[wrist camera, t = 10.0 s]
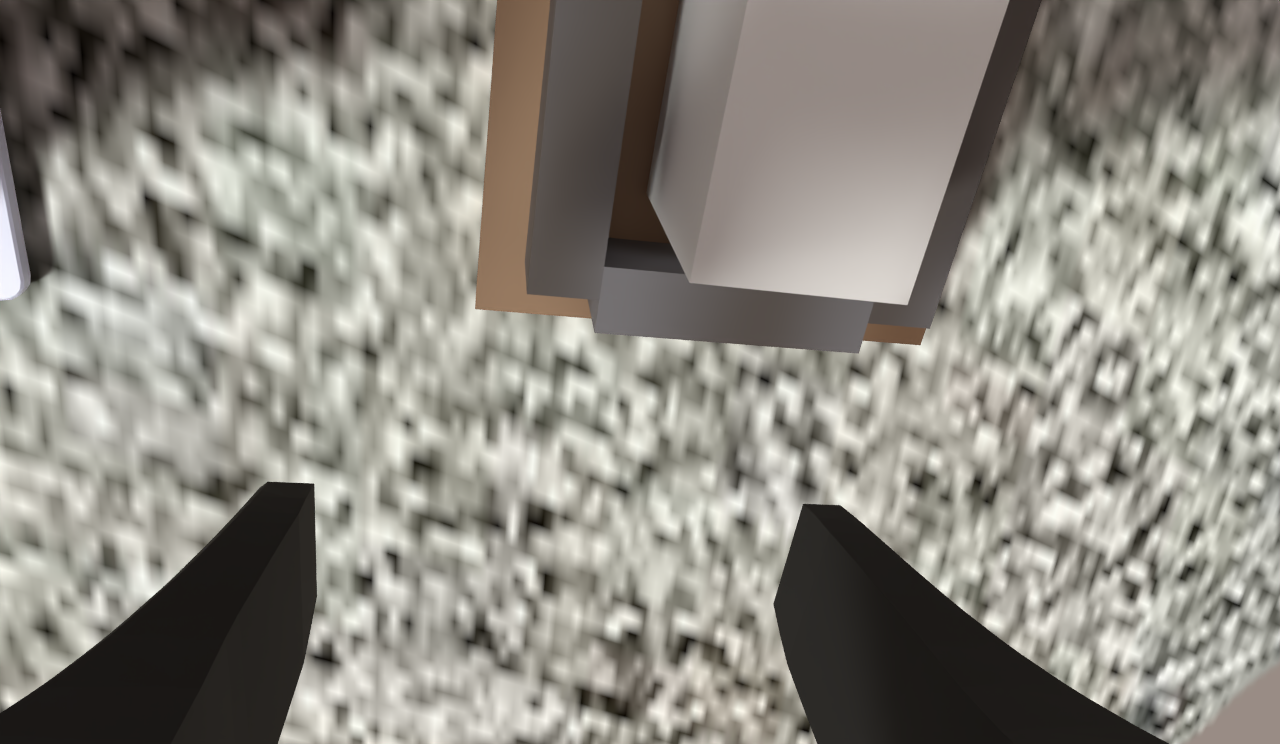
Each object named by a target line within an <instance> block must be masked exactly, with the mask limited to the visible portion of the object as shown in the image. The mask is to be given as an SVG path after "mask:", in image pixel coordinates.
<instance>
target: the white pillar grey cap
mask: <svg viewBox="0 0 1280 744" xmlns="http://www.w3.org/2000/svg"><path fill="white" fill-rule="evenodd" d="M1008 3H1009V0H680V1H679V7H678V13H677V18H676V24H675V30H674V36H673V41H672V47H671V53H670V59H669V65H668V70H667V76H666V82H665V88H664V94H663V99H662V105H661V111H660V117H659V123H658V128H657V134H656V140H655V146H654V152H653V157H652V163H651V169H650V175H649V180H648V186H647V192H646V193H647V195H648V198H649V200H650V202H651V204H652V206H653V208H654V210H655V212H656V214H657V216H658V218H659V220H660V223H661V225H662V227H663V229H664V231H665V233H666V235H667V237H668V239H669V241H670V243H671V245H672V248H673V250H674V252H675V254H676V256H677V258H678V260H679V262H680V264H681V266H682V268H683V270H684V272H685V275H686V277H687V279H688V281H689V283H696V284H705V285H715V286H725V287H735V288H744V289H754V290H764V291H774V292H784V293H793V294H803V295H813V296H823V297H832V298H842V299H852V300H862V301H871V302H881V303H891V304H901V305H908V302H909V299H910V296H911V293H912V290H913V287H914V284H915V281H916V278H917V275H918V272H919V269H920V266H921V263H922V260H923V257H924V254H925V251H926V248H927V245H928V242H929V239H930V236H931V233H932V230H933V227H934V224H935V221H936V218H937V215H938V212H939V209H940V206H941V203H942V200H943V197H944V194H945V191H946V188H947V185H948V182H949V179H950V176H951V174H952V171H953V168H954V165H955V162H956V159H957V156H958V153H959V150H960V147H961V144H962V141H963V138H964V135H965V132H966V129H967V126H968V123H969V120H970V117H971V114H972V111H973V108H974V105H975V102H976V99H977V96H978V93H979V90H980V87H981V84H982V81H983V78H984V75H985V72H986V69H987V66H988V63H989V60H990V57H991V54H992V51H993V48H994V45H995V42H996V39H997V36H998V33H999V30H1000V27H1001V24H1002V21H1003V18H1004V15H1005V12H1006V9H1007V6H1008Z"/></svg>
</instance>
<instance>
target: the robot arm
mask: <svg viewBox="0 0 1280 744" xmlns="http://www.w3.org/2000/svg"><path fill="white" fill-rule="evenodd" d="M30 280H31V274H30V269H29V263H28V258H27V252H26V247H25V241H24V236H23V230H22V225H21V220H20V214H19V209H18V203H17V198H16V192H15V187H14V181H13V176H12V170H11V165H10V159H9V154H8V148H7V143H6V137H5V132H4V127H3V121H2V116H1V110H0V300H11V299H14V298H16V297H17V296H19V295H21V294H22V293H23V292H24V291H25V290H26V289H27V288H28V286H29V285H30ZM316 598H317V582H316V540H315V498H314V484H309V483H285V482H267V483H266V484H264V485H263V486H262V487H260V488H259V489H258V490H257V491H256V493H255V494H254V495H253V496H252V497H251V498H250V499H249V500H248V502H247V503H246V504H245V505H244V506H243V507H242V508H241V509H240V510H239V511H238V513H237V514H236V515H235V516H234V517H233V518H232V519H231V520H230V521H229V522H228V523H227V524H226V525H225V526H224V528H223V529H222V530H221V531H220V532H219V533H218V534H217V535H216V536H215V537H214V538H213V539H212V540H211V541H210V542H209V543H208V544H207V545H206V546H205V547H204V548H203V549H202V550H201V551H200V552H199V553H198V554H197V555H196V556H195V557H194V558H193V559H192V560H191V561H190V562H189V563H188V564H187V565H186V566H185V567H184V568H183V569H182V570H181V571H180V572H179V573H178V574H177V575H176V576H175V577H174V578H172V579H171V580H170V581H169V582H168V583H167V584H166V585H165V586H164V587H163V588H162V589H161V590H159V591H158V592H157V593H156V594H155V595H154V596H153V597H152V598H150V599H149V600H148V601H147V602H146V603H145V604H144V605H142V606H141V607H140V608H139V609H138V610H137V611H136V612H135V613H133V614H132V615H131V616H130V617H129V618H128V619H127V620H125V621H124V622H123V623H122V624H121V625H120V626H119V627H117V628H116V629H115V630H114V631H112V632H111V633H110V634H109V635H108V636H106V637H105V638H104V639H103V640H101V641H100V642H99V643H98V644H96V645H95V646H94V647H93V648H91V649H90V650H89V651H88V652H86V653H85V654H84V655H82V656H81V657H80V658H79V659H77V660H76V661H75V662H73V663H72V664H71V665H69V666H68V667H67V668H65V669H64V670H63V671H61V672H60V673H59V674H57V675H56V676H55V677H53V678H52V679H50V680H49V681H48V682H46V683H45V684H43V685H42V686H40V687H39V688H38V689H36V690H35V691H33V692H32V693H30V694H29V695H27V696H26V697H24V698H23V699H21V700H20V701H18V702H17V703H15V704H14V705H12V706H11V707H9V708H8V709H6V710H5V711H3V712H1V713H0V744H278V741H279V738H280V735H281V732H282V729H283V726H284V723H285V720H286V717H287V713H288V710H289V707H290V704H291V701H292V698H293V695H294V692H295V689H296V686H297V682H298V679H299V676H300V673H301V670H302V667H303V663H304V659H305V654H306V649H307V644H308V639H309V634H310V629H311V624H312V619H313V614H314V608H315V603H316ZM774 608H775V613H776V618H777V622H778V627H779V631H780V636H781V640H782V644H783V648H784V652H785V656H786V660H787V664H788V667H789V670H790V672H791V675H792V678H793V681H794V683H795V686H796V689H797V691H798V694H799V697H800V699H801V702H802V705H803V707H804V710H805V713H806V715H807V718H808V721H809V723H810V726H811V728H812V731H813V734H814V736H815V739H816V741H817V744H1168V743H1167V742H1165V741H1163V740H1161V739H1159V738H1157V737H1155V736H1153V735H1152V734H1150V733H1148V732H1146V731H1144V730H1142V729H1140V728H1139V727H1137V726H1135V725H1133V724H1131V723H1130V722H1128V721H1126V720H1124V719H1123V718H1121V717H1119V716H1118V715H1116V714H1114V713H1112V712H1111V711H1109V710H1107V709H1106V708H1104V707H1102V706H1100V705H1099V704H1097V703H1095V702H1094V701H1092V700H1090V699H1088V698H1087V697H1085V696H1084V695H1082V694H1080V693H1079V692H1077V691H1076V690H1074V689H1072V688H1071V687H1069V686H1068V685H1066V684H1064V683H1063V682H1061V681H1060V680H1058V679H1057V678H1055V677H1054V676H1052V675H1051V674H1049V673H1048V672H1046V671H1045V670H1044V669H1042V668H1041V667H1039V666H1038V665H1036V664H1035V663H1033V662H1032V661H1030V660H1029V659H1027V658H1026V657H1024V656H1023V655H1021V654H1020V653H1019V652H1017V651H1016V650H1014V649H1013V648H1012V647H1010V646H1009V645H1007V644H1006V643H1005V642H1003V641H1002V640H1001V639H999V638H998V637H997V636H995V635H994V634H993V633H992V632H990V631H989V630H988V629H986V628H985V627H984V626H983V625H981V624H980V623H979V622H977V621H976V620H975V619H974V618H972V617H971V616H970V615H968V614H967V613H966V612H965V611H963V610H962V609H961V608H960V607H958V606H957V605H956V604H955V603H954V602H952V601H951V600H950V599H949V598H947V597H946V596H945V595H944V594H943V593H941V592H940V591H939V590H938V589H937V588H936V587H934V586H933V585H932V584H931V583H930V582H929V581H927V580H926V579H925V578H924V577H923V576H922V575H920V574H919V573H918V572H917V571H916V570H915V569H914V568H912V567H911V566H910V565H909V564H908V563H907V562H906V561H904V560H903V559H902V558H901V557H900V556H899V555H898V554H896V553H895V552H894V551H893V550H892V549H891V548H890V547H889V546H887V545H886V544H885V543H884V542H883V541H882V540H881V539H880V538H878V537H877V536H876V535H875V534H874V533H873V532H872V531H870V530H869V529H868V528H867V527H866V526H865V525H864V524H862V523H861V522H860V521H859V520H858V519H857V518H855V517H854V516H853V515H852V514H850V513H849V512H848V511H847V510H845V509H844V508H843V507H842V506H840V505H817V504H803V506H802V510H801V513H800V516H799V520H798V523H797V527H796V530H795V533H794V537H793V540H792V543H791V547H790V550H789V554H788V557H787V560H786V564H785V567H784V570H783V574H782V577H781V581H780V584H779V587H778V591H777V594H776V597H775V601H774Z"/></svg>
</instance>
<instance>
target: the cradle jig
mask: <svg viewBox="0 0 1280 744" xmlns="http://www.w3.org/2000/svg"><path fill="white" fill-rule="evenodd" d="M679 1H680V0H497V10H496V24H495V38H494V52H493V66H492V80H491V94H490V107H489V121H488V135H487V149H486V163H485V177H484V191H483V205H482V218H481V232H480V246H479V260H478V274H477V288H476V304H475V309H482V310H494V311H506V312H519V313H531V314H543V315H556V316H568V317H580V318H592V322H593V327H594V332H595V333H604V334H617V335H630V336H643V337H655V338H668V339H681V340H694V341H707V342H719V343H732V344H745V345H758V346H771V347H783V348H796V349H809V350H822V351H835V352H847V353H859V350H860V347H861V344H862V340H863V341H876V342H888V343H900V344H913V345H921V342H922V339H923V336H924V333H925V330H926V328H928V329H930V326H931V323H932V321H933V318H934V315H935V312H936V309H937V306H938V303H939V300H940V297H941V294H942V291H943V288H944V285H945V282H946V279H947V276H948V274H949V271H950V268H951V265H952V262H953V259H954V256H955V253H956V250H957V247H958V244H959V241H960V238H961V235H962V232H963V230H964V227H965V224H966V221H967V218H968V215H969V212H970V209H971V206H972V203H973V200H974V197H975V194H976V191H977V188H978V185H979V183H980V180H981V177H982V174H983V171H984V168H985V165H986V162H987V159H988V156H989V153H990V150H991V147H992V144H993V141H994V138H995V136H996V133H997V130H998V127H999V124H1000V121H1001V118H1002V115H1003V112H1004V109H1005V106H1006V103H1007V100H1008V97H1009V94H1010V92H1011V89H1012V86H1013V83H1014V80H1015V77H1016V74H1017V71H1018V68H1019V65H1020V62H1021V59H1022V56H1023V53H1024V50H1025V47H1026V45H1027V42H1028V39H1029V36H1030V33H1031V30H1032V27H1033V24H1034V21H1035V18H1036V15H1037V12H1038V9H1039V6H1040V3H1041V0H1009V3H1008V6H1007V9H1006V12H1005V15H1004V18H1003V21H1002V24H1001V27H1000V30H999V33H998V36H997V39H996V42H995V45H994V48H993V51H992V54H991V57H990V60H989V63H988V66H987V69H986V72H985V75H984V78H983V81H982V84H981V87H980V90H979V93H978V96H977V99H976V102H975V105H974V108H973V111H972V114H971V117H970V120H969V123H968V126H967V129H966V132H965V135H964V138H963V141H962V144H961V147H960V150H959V153H958V156H957V159H956V162H955V165H954V168H953V171H952V174H951V176H950V179H949V182H948V185H947V188H946V191H945V194H944V197H943V200H942V203H941V206H940V209H939V212H938V215H937V218H936V221H935V224H934V227H933V230H932V233H931V236H930V239H929V242H928V245H927V248H926V251H925V254H924V257H923V260H922V263H921V266H920V269H919V272H918V275H917V278H916V281H915V284H914V287H913V290H912V293H911V296H910V299H909V302H908V305H901V304H891V303H881V302H871V301H862V300H852V299H842V298H832V297H823V296H813V295H803V294H793V293H784V292H774V291H764V290H754V289H744V288H735V287H725V286H715V285H705V284H696V283H689V281H688V279H687V277H686V275H685V272H684V270H683V268H682V266H681V264H680V262H679V260H678V258H677V256H676V254H675V252H674V250H673V248H672V245H671V243H670V241H669V239H668V237H667V235H666V233H665V231H664V229H663V227H662V225H661V223H660V220H659V218H658V216H657V214H656V212H655V210H654V208H653V206H652V204H651V202H650V200H649V198H648V195H647V193H646V192H647V186H648V180H649V175H650V169H651V163H652V157H653V152H654V146H655V140H656V134H657V128H658V123H659V117H660V111H661V105H662V99H663V94H664V88H665V82H666V76H667V70H668V65H669V59H670V53H671V47H672V41H673V36H674V30H675V24H676V18H677V13H678V7H679Z"/></svg>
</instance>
